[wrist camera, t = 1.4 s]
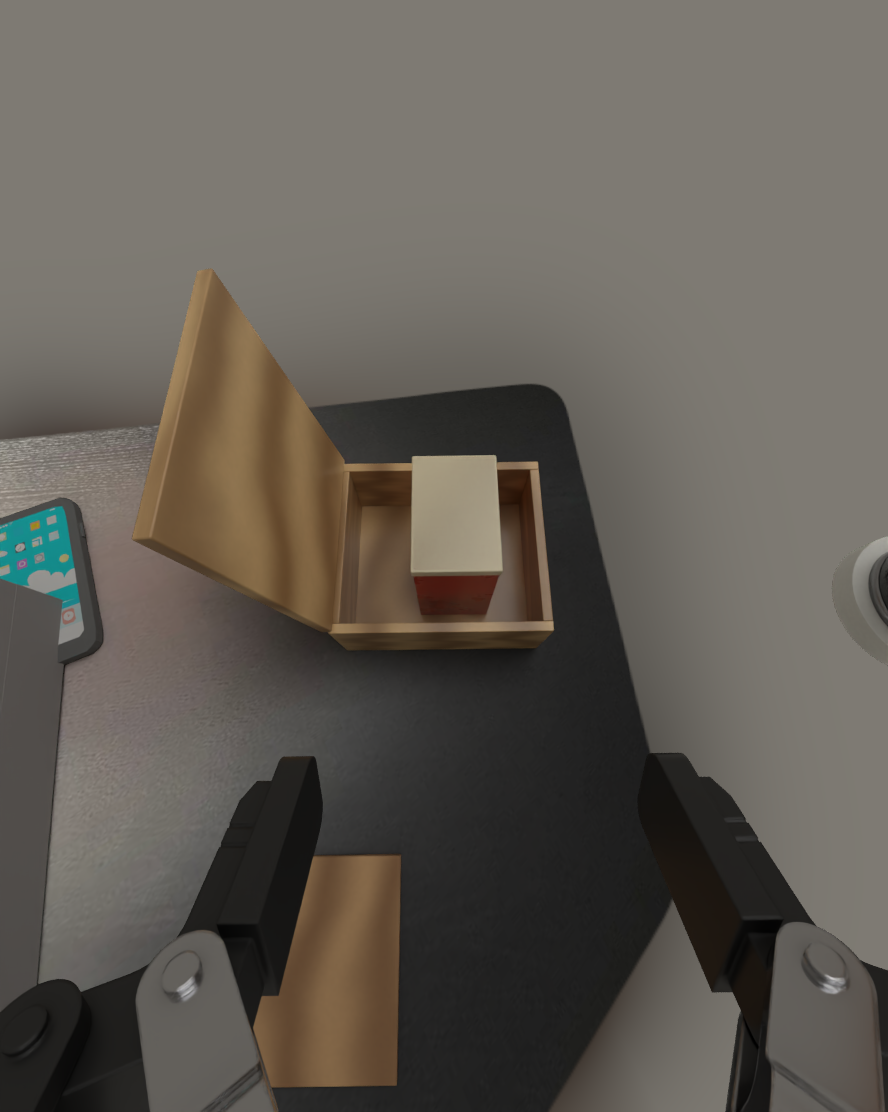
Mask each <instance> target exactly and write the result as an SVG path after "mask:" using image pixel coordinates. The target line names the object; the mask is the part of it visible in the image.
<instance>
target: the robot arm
mask: <svg viewBox="0 0 888 1112" xmlns="http://www.w3.org/2000/svg"><path fill="white" fill-rule="evenodd" d="M869 593H870V597H871V600H872V603H873V605H874V607H875V609H876V611H877V613H878V615H879V616H880V618H881V619H882V620H883V622H884V623H885V624H886V625H887V626H888V552H887V553H885V554H883V555H882V556H881V557H880V558H878V559H877V561H876V562H875V563H874V565H873V566H872V569H871V571H870V575H869ZM322 812H323V801H322V794H321V788H320V782H319V775H318V769H317V763H316V759H315V757H314V756H296V757H282V758H281V759H280V761H279V763H278V766H277V768H276V771H275V773H274V776H273V779H272V781H257V782H256V783H255V784H254V785H253V786H252V788H251V789H250V790H249V791H248V792H247V793H246V794H245V795H244V797H243V798H242V799H241V800H240V801H239V803H238V806H237V808H236V810H235V813H234V815H233V817H232V819H231V822H230V826H229V828H227V831H226V833H225V835H224V837H223V840H222V842H221V847H219V849H218V851H217V853H216V856H215V858H214V860H213V862H212V865H211V867H210V869H209V871H208V874H207V876H206V878H205V881H204V883H203V885H202V887H201V890H200V892H199V894H198V896H197V899H196V901H195V903H194V905H193V908H192V910H191V912H190V915H189V917H188V919H187V921H186V923H185V925H184V927H183V929H182V930H181V932H180V933H179V935H178V936H177V938H176V939H174V940H173V941H171V942H170V943H169V944H167V945H166V946H165V947H164V948H163V949H162V950H161V951H160V952H159V953H158V954H157V955H156V956H155V957H154V958H153V960H152V961H151V963H149V964H148V965H146V966H145V967H143V968H141V969H140V970H138V971H135V972H133V973H131V974H128V975H126V976H123V977H120V978H118V979H115V980H112V981H109V982H107V983H104V984H101V985H99V986H96V987H93V988H91V989H88V990H85V991H83V992H80V990H79V988H78V987H77V986H76V985H75V984H74V983H73V982H71V981H69V980H65V979H56V980H50V981H47V982H44V983H41V984H39V985H37V986H35V987H33V988H31V989H29V990H28V991H26V992H24V993H23V994H21V995H20V996H19V997H17V998H16V999H15V1000H13V1001H12V1002H11V1003H10V1004H9V1005H8V1006H7V1007H5V1008H4V1009H3V1010H2V1011H1V1012H0V1112H279V1111H278V1107H277V1104H276V1101H275V1097H274V1094H273V1091H272V1088H271V1084H270V1081H269V1078H268V1075H267V1071H266V1068H265V1065H264V1061H263V1058H262V1055H261V1052H260V1048H259V1045H258V1042H257V1038H256V1035H255V1032H254V1029H253V1026H254V1023H255V1019H256V1015H257V1012H258V1008H259V1004H260V1001H261V997H262V996H279V992H280V988H281V984H282V980H283V976H284V972H285V968H286V964H287V960H288V956H289V952H290V948H291V944H292V940H293V936H294V932H295V928H296V924H297V920H298V916H299V912H300V908H301V904H302V900H303V896H304V892H305V888H306V884H307V880H308V876H309V872H310V868H311V864H312V860H313V856H314V852H315V848H316V844H317V840H318V836H319V832H320V827H321V821H322ZM638 812H639V817H640V821H641V824H642V827H643V829H644V832H645V834H646V836H647V839H648V841H649V843H650V846H651V848H652V851H653V853H654V855H655V858H656V860H657V863H658V865H659V867H660V870H661V872H662V874H663V877H664V879H665V882H666V884H667V886H668V889H669V891H670V893H671V896H672V898H673V901H674V903H675V905H676V907H677V910H678V912H679V915H680V917H681V919H682V922H683V924H684V926H685V929H686V931H687V934H688V936H689V939H690V941H691V943H692V945H693V948H694V950H695V953H696V955H697V957H698V960H699V962H700V964H701V967H702V969H703V972H704V974H705V977H706V979H707V981H708V984H709V986H710V988H711V991H712V992H733V994H734V996H735V998H736V1000H737V1003H738V1005H739V1007H740V1009H741V1012H740V1014H739V1019H738V1024H737V1032H736V1040H735V1046H734V1053H733V1061H732V1068H731V1075H730V1083H729V1089H728V1097H727V1104H726V1111H725V1112H888V970H885V969H882V968H878V967H875V966H873V965H870V964H868V963H865V962H863V961H861V960H859V958H858V957H857V956H856V955H855V954H854V953H853V952H852V951H851V950H850V949H849V948H848V947H847V946H846V945H845V944H844V943H843V942H842V941H840V940H839V939H838V938H836V937H835V936H834V935H832V934H830V933H829V932H827V931H825V930H823V929H821V928H819V927H817V926H816V925H815V924H814V922H813V921H812V920H811V919H810V917H809V916H808V914H807V913H806V911H805V910H804V908H803V906H802V905H801V904H800V902H799V900H798V899H797V897H796V896H795V894H794V893H793V891H792V890H791V888H790V886H789V885H788V883H787V882H786V880H785V879H784V877H783V876H782V874H781V872H780V871H779V869H778V868H777V866H776V865H775V863H774V862H773V860H772V859H771V857H770V855H769V854H768V852H767V851H766V849H765V848H764V846H763V845H762V843H761V842H759V841H758V837H757V835H756V834H755V832H754V831H753V829H752V828H751V826H750V825H749V823H747V822H746V820H745V817H744V815H743V814H742V812H741V811H740V809H739V807H738V806H737V804H736V803H735V801H734V800H733V798H732V797H731V796H730V795H729V794H728V793H727V792H726V791H725V790H724V789H722V787H720V786H719V785H718V784H717V783H716V782H715V781H714V780H713V779H711V778H710V777H699V776H698V775H697V773H696V771H695V770H694V768H693V766H692V765H691V763H690V761H689V760H688V758H687V757H686V756H685V755H684V754H682V753H650V754H648V756H647V758H646V762H645V767H644V771H643V776H642V780H641V785H640V789H639V794H638Z"/></svg>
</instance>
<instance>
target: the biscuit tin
mask: <svg viewBox="0 0 888 1112" xmlns="http://www.w3.org/2000/svg"><path fill="white" fill-rule="evenodd" d="M410 572H411V576H413V578H414V583H415V588H416V593H417V598H418V603H419V608H420V613H421V615H456V614H487V611H488V608H489V605H490V602H491V599H492V596H493V593H494V590H495V587H496V584H497V581H498V578H499V575H502V572H503V562H502V545H501V529H500V512H499V495H498V479H497V462H496V456H495V455H482V456H413V457H412V491H411V560H410Z"/></svg>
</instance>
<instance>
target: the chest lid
mask: <svg viewBox="0 0 888 1112" xmlns="http://www.w3.org/2000/svg"><path fill="white" fill-rule="evenodd" d="M343 472H344V459H343V457H342V456H341V455H340V453H339V452H338V450H337V449H336V447H335V446H334V444H333V443H332V442H331V440H330V439H329V437H328V436H327V434H326V433H325V431H324V430H323V428H322V427H321V426H320V424H319V423H318V421H317V420H316V418H315V417H314V415H313V414H312V412H311V411H310V410H309V408H308V407H307V405H306V404H305V402H304V401H303V399H302V398H301V397H300V395H299V394H298V392H297V391H296V390H295V388H294V386H293V385H292V383H291V382H290V381H289V379H288V378H287V376H286V375H285V373H284V372H283V370H282V369H281V368H280V366H279V365H278V363H277V362H276V360H275V359H274V357H273V356H272V355H271V353H270V352H269V350H268V349H267V347H266V346H265V344H264V343H263V341H262V340H261V339H260V337H259V336H258V334H257V333H256V331H255V330H254V328H253V327H252V326H251V324H250V323H249V321H248V320H247V318H246V317H245V315H244V314H243V312H242V311H241V310H240V308H239V307H238V305H237V304H236V302H235V301H234V299H233V298H232V297H231V295H230V294H229V292H228V291H227V289H226V288H225V286H224V285H223V283H222V282H221V280H220V279H219V278H218V276H217V275H216V273H215V272H214V270H213V269H205V270H200V271H198V272H197V274H196V279H195V283H194V287H193V291H192V295H191V299H190V303H189V307H188V311H187V315H186V319H185V324H184V328H183V332H182V336H181V340H180V344H179V348H178V352H177V356H176V360H175V364H174V369H173V373H172V377H171V381H170V385H169V389H168V393H167V398H166V401H165V406H164V410H163V413H162V417H161V422H160V426H159V430H158V434H157V438H156V442H155V446H154V450H153V454H152V458H151V462H150V467H149V471H148V475H147V479H146V483H145V487H144V491H143V495H142V499H141V503H140V507H139V512H138V516H137V520H136V524H135V528H134V532H133V536H132V540H133V541H135V542H137V543H139V544H141V545H144V546H146V547H148V548H150V549H152V550H154V551H156V552H158V553H160V554H162V555H164V556H166V557H168V558H170V559H172V560H174V561H176V562H178V563H180V564H182V565H185V566H187V567H189V568H191V569H193V570H195V571H197V572H199V573H201V574H203V575H205V576H207V577H209V578H211V579H213V580H215V581H217V582H219V583H221V584H223V585H226V586H228V587H230V588H232V589H234V590H236V591H238V592H240V593H242V594H244V595H246V596H248V597H250V598H252V599H254V600H256V601H258V602H260V603H262V604H265V605H267V606H269V607H271V608H273V609H275V610H277V611H279V612H281V613H283V614H285V615H287V616H289V617H291V618H293V619H295V620H297V621H299V622H301V623H303V624H306V625H308V626H310V627H312V628H314V629H316V630H318V631H320V632H331V631H332V620H333V607H334V593H335V580H336V566H337V553H338V539H339V526H340V512H341V499H342V485H343Z"/></svg>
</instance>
